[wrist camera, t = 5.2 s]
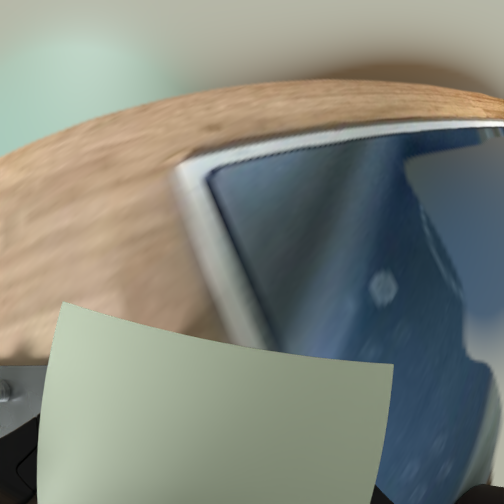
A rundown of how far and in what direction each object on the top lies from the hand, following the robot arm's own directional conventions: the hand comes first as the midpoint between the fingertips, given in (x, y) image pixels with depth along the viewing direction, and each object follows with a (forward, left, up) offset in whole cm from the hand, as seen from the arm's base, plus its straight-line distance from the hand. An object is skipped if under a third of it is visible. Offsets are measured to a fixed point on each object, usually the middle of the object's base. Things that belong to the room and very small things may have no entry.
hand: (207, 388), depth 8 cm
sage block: (-1, -1, -7) cm, 7 cm away
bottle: (+3, -26, -8) cm, 28 cm away
